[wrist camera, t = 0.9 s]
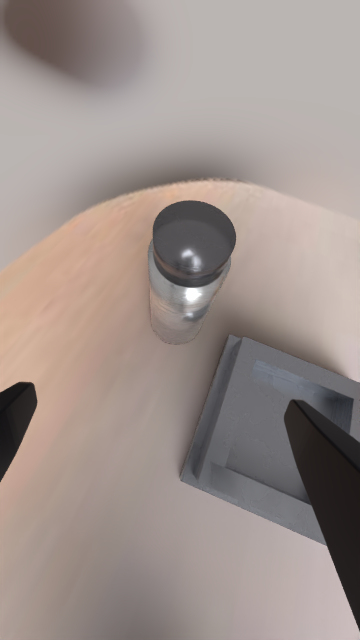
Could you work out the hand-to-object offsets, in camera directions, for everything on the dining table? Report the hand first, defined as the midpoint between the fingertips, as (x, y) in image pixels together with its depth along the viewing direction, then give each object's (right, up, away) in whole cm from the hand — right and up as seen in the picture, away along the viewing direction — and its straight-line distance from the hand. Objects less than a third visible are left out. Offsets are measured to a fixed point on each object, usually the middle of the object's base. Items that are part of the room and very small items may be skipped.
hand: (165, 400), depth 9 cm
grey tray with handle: (+16, -10, +13) cm, 23 cm away
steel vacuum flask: (0, +3, +16) cm, 17 cm away
